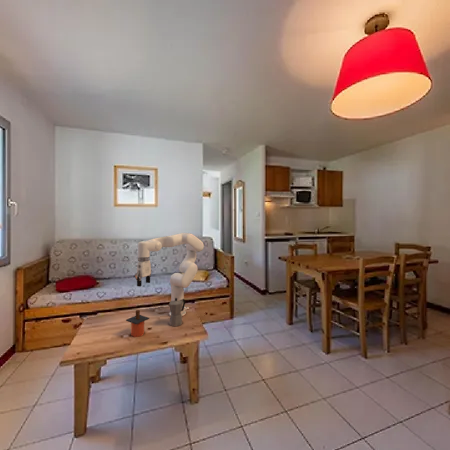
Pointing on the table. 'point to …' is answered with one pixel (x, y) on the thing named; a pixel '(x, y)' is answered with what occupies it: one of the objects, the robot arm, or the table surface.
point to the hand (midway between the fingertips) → (143, 284)
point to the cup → (137, 329)
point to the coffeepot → (176, 312)
